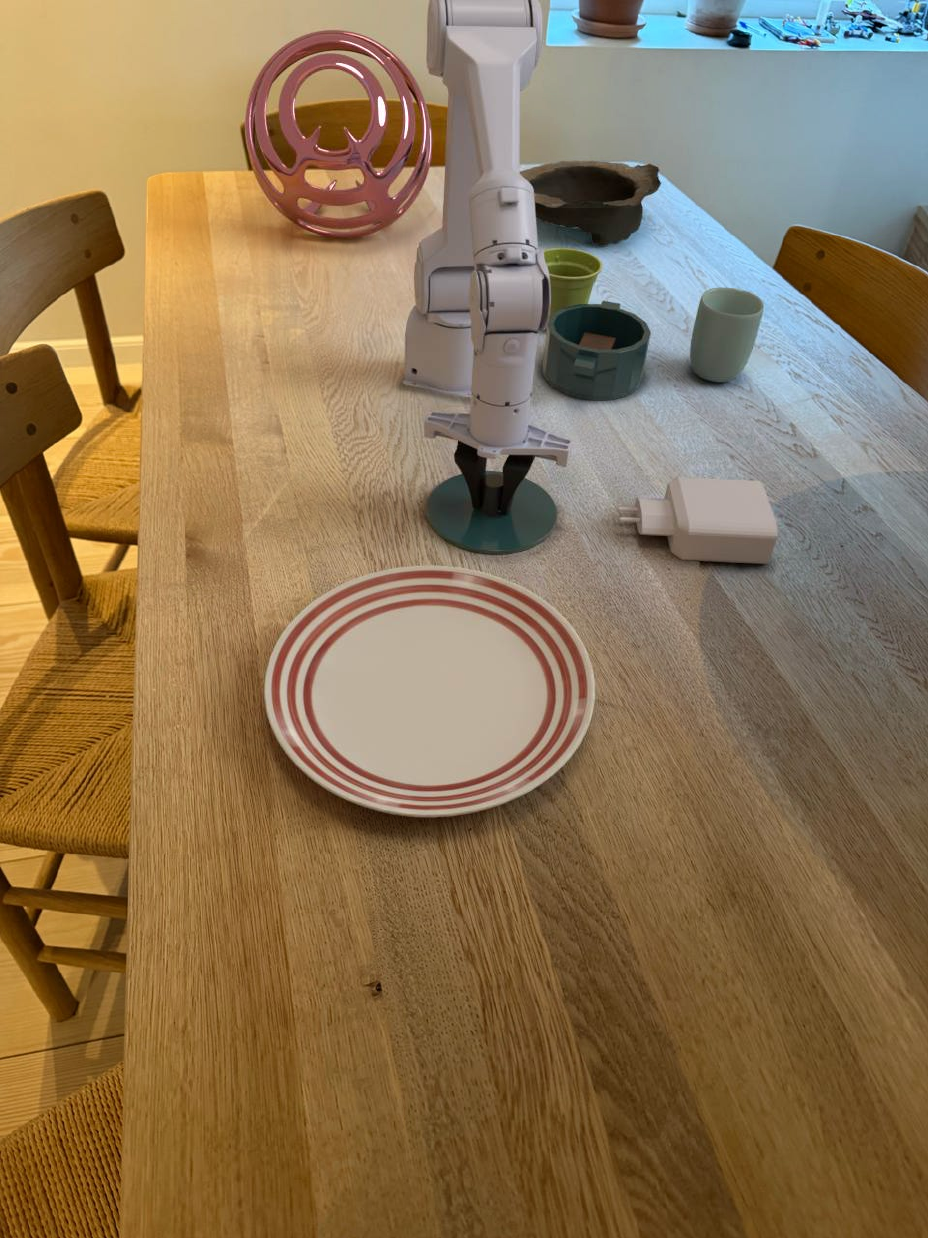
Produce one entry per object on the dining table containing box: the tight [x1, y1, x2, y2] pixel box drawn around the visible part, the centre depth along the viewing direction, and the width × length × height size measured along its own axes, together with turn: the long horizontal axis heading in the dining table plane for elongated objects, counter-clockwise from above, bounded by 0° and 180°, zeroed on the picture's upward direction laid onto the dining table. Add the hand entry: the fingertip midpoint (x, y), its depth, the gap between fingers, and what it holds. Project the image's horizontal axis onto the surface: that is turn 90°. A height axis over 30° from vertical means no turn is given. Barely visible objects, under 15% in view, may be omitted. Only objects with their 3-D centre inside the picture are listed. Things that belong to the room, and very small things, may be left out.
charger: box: [616, 476, 779, 565], centre depth 98 cm, size 5×9×15 cm
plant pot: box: [542, 247, 603, 328], centre depth 129 cm, size 9×9×9 cm
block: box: [579, 332, 616, 350], centre depth 121 cm, size 4×4×4 cm
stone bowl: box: [519, 160, 662, 247], centre depth 154 cm, size 25×25×9 cm
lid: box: [426, 470, 558, 555], centre depth 98 cm, size 14×14×5 cm
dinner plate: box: [263, 564, 596, 818], centre depth 80 cm, size 27×27×3 cm
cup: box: [689, 287, 765, 383], centre depth 120 cm, size 8×8×10 cm
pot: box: [541, 300, 652, 401], centre depth 120 cm, size 13×18×6 cm
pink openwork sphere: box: [244, 29, 433, 240], centre depth 144 cm, size 28×28×27 cm
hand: (491, 506), depth 99 cm, fingers closed on lid, 2 cm apart
